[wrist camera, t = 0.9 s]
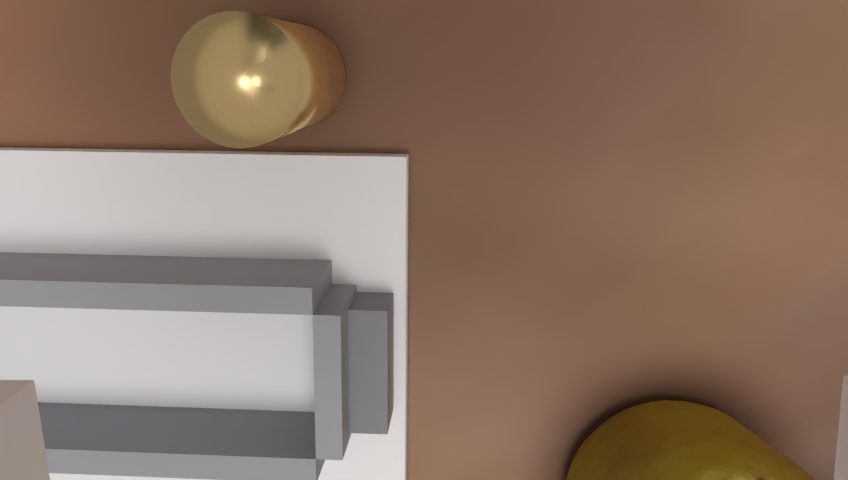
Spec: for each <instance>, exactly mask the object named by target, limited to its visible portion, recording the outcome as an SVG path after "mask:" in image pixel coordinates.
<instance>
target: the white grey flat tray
mask: <svg viewBox="0 0 848 480" xmlns="http://www.w3.org/2000/svg"><path fill="white" fill-rule="evenodd" d="M408 193H409V154H377V153H317V152H256V151H196V150H135V149H74V148H14V147H0V380H34V382H35V388H36V395H37V401H38V407H39V414H40V420H41V426H42V432H43V439H44V445H45V451H46V457H47V464H48V470H49V476H50V480H407V377H408Z"/></svg>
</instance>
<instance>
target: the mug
mask: <svg viewBox="0 0 848 480" xmlns="http://www.w3.org/2000/svg"><path fill="white" fill-rule="evenodd" d="M566 480H814V479H813V478H812V477H811V476H810V475H808V474H807V473H806V472H805V471H804V470H803V469H801V468H800V467H799V466H797V465H796V464H795V463H794V462H792V461H791V460H790V459H788V458H787V457H785V456H784V455H782V454H781V453H780V452H778V451H777V450H776V449H775V448H773V447H772V446H770V445H769V444H768V443H766V442H765V441H764V440H762V439H761V438H760V437H758V436H757V435H755V434H754V433H753V432H751V431H750V430H749V429H747V428H746V427H745V426H743V425H742V424H741V423H739V422H738V421H736V420H735V419H734V418H732V417H731V416H729V415H727V414H725V413H724V412H722V411H719V410H717V409H714V408H711V407H709V406H705V405H701V404H696V403H692V402H688V401H670V400H660V401H652V402H648V403H644V404H640V405H636V406H633V407H630V408H627V409H625V410H623V411H621V412H619V413H618V414H616V415H614V416H613V417H611V418H609V419H608V420H607V421H605V422H604V423H603V424H602V425H600V426H599V427H598V428H597V429H596V430H594V431H593V432H592V433H591V434H590V435H589V437H588V438H587V439H586V440H585V441H584V442H583V443H582V444H581V446H580V447H579V449H578V451H577V453H576V455H575V456H574V458H573V460H572V462H571V465H570V468H569V471H568V475H567V478H566Z"/></svg>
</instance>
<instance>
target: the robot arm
mask: <svg viewBox="0 0 848 480" xmlns="http://www.w3.org/2000/svg"><path fill="white" fill-rule="evenodd" d="M0 480H50V476H49V470H48V464H47V457H46V451H45V445H44V439H43V432H42V426H41V420H40V414H39V407H38V401H37V395H36V388H35V382H34V380H0ZM834 480H848V375H844V376H843V387H842V397H841V408H840V418H839V428H838V439H837V449H836V460H835V470H834Z"/></svg>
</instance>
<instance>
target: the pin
mask: <svg viewBox="0 0 848 480" xmlns="http://www.w3.org/2000/svg"><path fill="white" fill-rule="evenodd" d="M345 84H346V72H345V66H344V62H343V59H342V56H341V54H340V52H339V50H338V49H337V47H336V46H335V44H334V43H333V42H332V41H331V40H330V39H329V38H328V37H327V36H326V35H325V34H323V33H322V32H320V31H319V30H317V29H315V28H313V27H310V26H307V25H302V24H298V23H293V22H289V21H284V20H279V19H275V18H270V17H266V16H261V15H257V14H252V13H248V12H243V11H224V12H219V13H215V14H213V15H210V16H207V17H206V18H204V19H202V20H200V21H199V22H197V23H196V24H194V25H193V26H192V27H191V28H190V29H189V30H188V31H187V32H186V34H185V35H184V36H183V37H182V39H181V41H180V42H179V44H178V46H177V48H176V50H175V53H174V56H173V60H172V65H171V87H172V92H173V96H174V99H175V102H176V104H177V107H178V109H179V111H180V112H181V114H182V116H183V117H184V119H185V120H186V121H187V123H188V124H189V125H190V126H191V127H192V128H193V129H194V130H195V131H196V132H197V133H199V134H200V135H201V136H203V137H204V138H206V139H208V140H210V141H212V142H213V143H216V144H219V145H222V146H225V147H230V148H251V147H256V146H259V145H262V144H265V143H268V142H270V141H273V140H275V139H278V138H280V137H283V136H285V135H288V134H291V133H293V132H296V131H298V130H301V129H303V128H306V127H308V126H311V125H313V124H316V123H318V122H320V121H322V120H323V119H325V118H326V117H328V116H329V115H330V114H331V113H332V112H333V111H334V110H335V108H336V107H337V105H338V104H339V102H340V100H341V98H342V96H343V93H344V89H345Z"/></svg>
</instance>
